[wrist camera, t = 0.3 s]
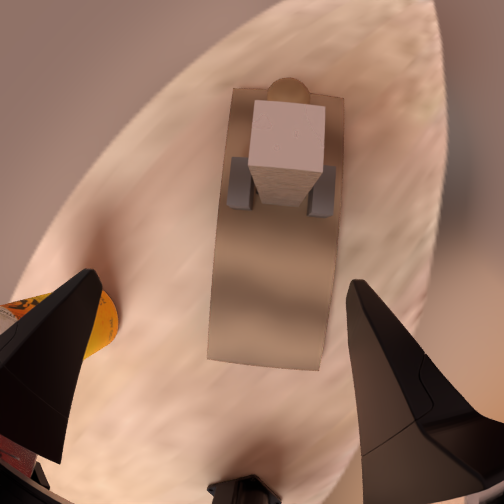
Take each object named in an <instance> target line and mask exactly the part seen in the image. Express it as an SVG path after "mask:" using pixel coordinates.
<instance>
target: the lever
mask: <svg viewBox="0 0 504 504" xmlns="http://www.w3.org/2000/svg"><path fill="white" fill-rule="evenodd" d="M324 136H325V107H324V106H316V105H308V104H299V103H289V102H278V101H263V100H255V103H254V112H253V121H252V131H251V140H250V150H249V159H248V167H249V170H250V172H251V175H252V177H253V180H254V183H255V185H256V188H257V189H256V194H259V196H260V199H261V201H262V204H271V205H281V206H291V207H299V205H300V204H301V202H302V201H303V200H304V199H306V195H307V194H308V193H309V191H310V190H311V188H312V187H313V186H314V184H315V183H316V181H317V180H318V179H319V177H320V176H321V174H322V173H323V159H324Z"/></svg>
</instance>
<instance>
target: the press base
mask: <svg viewBox="0 0 504 504" xmlns="http://www.w3.org/2000/svg"><path fill="white" fill-rule="evenodd" d="M255 100H263V101H278V102H289V103H299V104H308V105H316V106H324V107H325V136H324V159H323V173H322V174H321V176H320V177H319V179H318V180H317V181H316V183H315V184H314V186H313V187H312V188H311V190H310V191H309V193H308V194H307V195H306V199H304V200H303V201H302V202H301V204H300V205H299V207H291V206H281V205H271V204H262V201H261V199H260V196H259V194H256V189H257V188H256V185H255V183H254V180H253V177H252V175H251V172H250V170H249V167H248V159H249V150H250V140H251V131H252V121H253V112H254V103H255ZM343 149H344V98H338V97H331V96H325V95H317V94H310V93H309V91H308V89H307V87H306V86H305V85H304V84H303V83H302V82H300V81H299V80H297V79H293V78H282V79H279V80H277V81H275V82H274V83H273V84H272V85H271V86H270V88H269V90H263V89H237V88H233V94H232V101H231V109H230V116H229V123H228V131H227V139H226V147H225V155H224V164H223V172H222V181H221V190H220V199H219V209H218V219H217V229H216V240H215V251H214V263H213V275H212V288H211V302H210V316H209V332H208V349H207V359H209V360H215V361H222V362H229V363H236V364H244V365H252V366H261V367H271V368H282V369H294V370H309V371H319V368H320V363H321V357H322V352H323V346H324V340H325V335H326V328H327V322H328V316H329V309H330V302H331V295H332V287H333V280H334V271H335V263H336V254H337V244H338V233H339V222H340V209H341V194H342V176H343Z"/></svg>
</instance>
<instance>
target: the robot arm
mask: <svg viewBox="0 0 504 504" xmlns="http://www.w3.org/2000/svg"><path fill="white" fill-rule="evenodd" d="M102 289H103V288H102V283H101V281H100V279H99V277H98V275H97V273H96V271H95V270H94V269H83V270H82V271H81V272H79V273H78V274H76V275H75V276H74V277H72V278H71V279H70V280H68V281H67V282H66V283H64V284H63V285H62V286H60V287H59V288H58V289H56V290H55V291H54V292H52V293H51V294H50V295H49V296H47V297H46V298H45V299H44V300H42V301H41V302H40V303H38V304H37V305H36V306H35V307H33V308H32V309H31V310H30V311H29V312H27V313H26V314H25V315H24V316H22V317H21V318H20V319H19V320H18V321H16V322H15V323H14V324H13V325H12V326H10V327H9V328H8V329H7V330H6V331H4V332H3V333H2V334H1V335H0V504H74V503H72V502H70V501H68V500H66V499H64V498H62V497H60V496H58V495H57V494H55V493H53V492H51V491H49V490H50V486H49V484H48V481H47V479H46V477H45V474H44V472H43V470H42V467H41V465H40V463H39V462H37V461H36V459H37V456H38V455H40V456H42V457H44V458H46V459H48V460H50V461H53V462H55V463H57V464H60V463H61V459H62V452H63V446H64V440H65V434H66V429H67V424H68V418H69V414H70V409H71V405H72V400H73V396H74V392H75V388H76V384H77V380H78V376H79V373H80V369H81V365H82V362H83V358H84V355H85V352H86V348H87V345H88V342H89V339H90V336H91V333H92V329H93V326H94V322H95V318H96V314H97V310H98V306H99V302H100V298H101V294H102ZM346 311H347V330H348V346H349V353H350V360H351V366H352V373H353V381H354V388H355V396H356V405H357V414H358V423H359V434H360V446H361V456H362V459H361V461H362V479H363V504H504V423H502V422H498V421H495V420H492V419H489V418H487V417H485V416H483V415H481V414H479V413H478V412H477V411H476V410H475V409H474V408H473V407H472V406H471V405H470V404H469V403H468V402H467V401H466V400H465V398H464V397H463V396H462V395H461V394H460V393H459V392H458V391H457V390H456V389H455V388H454V387H453V385H452V384H451V383H450V382H449V381H448V380H447V379H446V377H445V376H444V375H443V374H442V373H441V372H440V371H439V369H438V368H437V367H436V366H435V364H434V363H433V362H432V361H431V359H430V358H429V357H428V355H427V354H425V352H424V351H423V349H422V348H421V347H420V345H419V344H418V343H417V342H416V340H415V339H414V338H413V337H412V335H411V334H410V333H409V332H408V330H407V329H406V328H405V327H404V326H403V324H402V323H401V322H400V321H399V320H398V318H397V317H396V316H395V315H394V314H393V312H392V311H391V310H390V309H389V308H388V307H387V305H386V304H385V303H384V302H383V301H382V299H381V298H380V297H379V296H378V295H377V294H376V293H375V291H374V290H373V289H372V288H371V287H370V286H369V285H368V283H367V282H366V281H365V280H363V279H353V280H352V281H351V283H350V286H349V290H348V293H347V297H346ZM207 491H208V492H209V493H210V494H211V495H213V496H214V497H213V501H212V504H281V503H282V501H281V499H280V498H278V497H277V496H276V495H275V494H274V493H273V492H272V491H271V490H270V489H269V488H268V487H267V486H266V485H265V484H264V483H263V482H262V481H261V480H260V479H259V478H258V477H257V476H256V475H250V476H247V477H243V478H239V479H236V480H232V481H228V482H224V483H219V484H215V485H210V486H208V487H207Z"/></svg>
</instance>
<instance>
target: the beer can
mask: <svg viewBox="0 0 504 504" xmlns="http://www.w3.org/2000/svg"><path fill="white" fill-rule="evenodd" d="M50 294H51V293H48V294H44V295H40V296H36V297H32V298H28V299H24V300H20V301H16V302H12V303H8V304H5V305H0V335H1V334H2V333H3V332H4V331H6V330H7V329H8V328H9V327H10V326H12V325H13V324H14V323H15V322H16V321H18V320H19V319H20V318H21V317H22V316H24V315H25V314H26V313H27V312H29V311H30V310H31V309H32V308H33V307H35V306H36V305H37V304H38V303H40V302H41V301H42V300H44V299H45V298H46V297H47V296H49V295H50ZM117 331H118V315H117V311H116V308H115V305H114V303H113V301H112V300H111V299H110V297H109V296H108V295H107V293H106V292H105V291H103V290H102V294H101V298H100V302H99V306H98V310H97V314H96V318H95V322H94V326H93V329H92V333H91V336H90V339H89V342H88V345H87V348H86V352H85V355H84V358H83V360H84V359H86V358H88V357H89V356H91V355H92V354H94V353H95V352H97V351H99V350H100V349H102V348H103V347H105V346H107V345H108V344H110V343H111V342H112V341H113V340H114V338H115V336H116V334H117Z"/></svg>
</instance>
